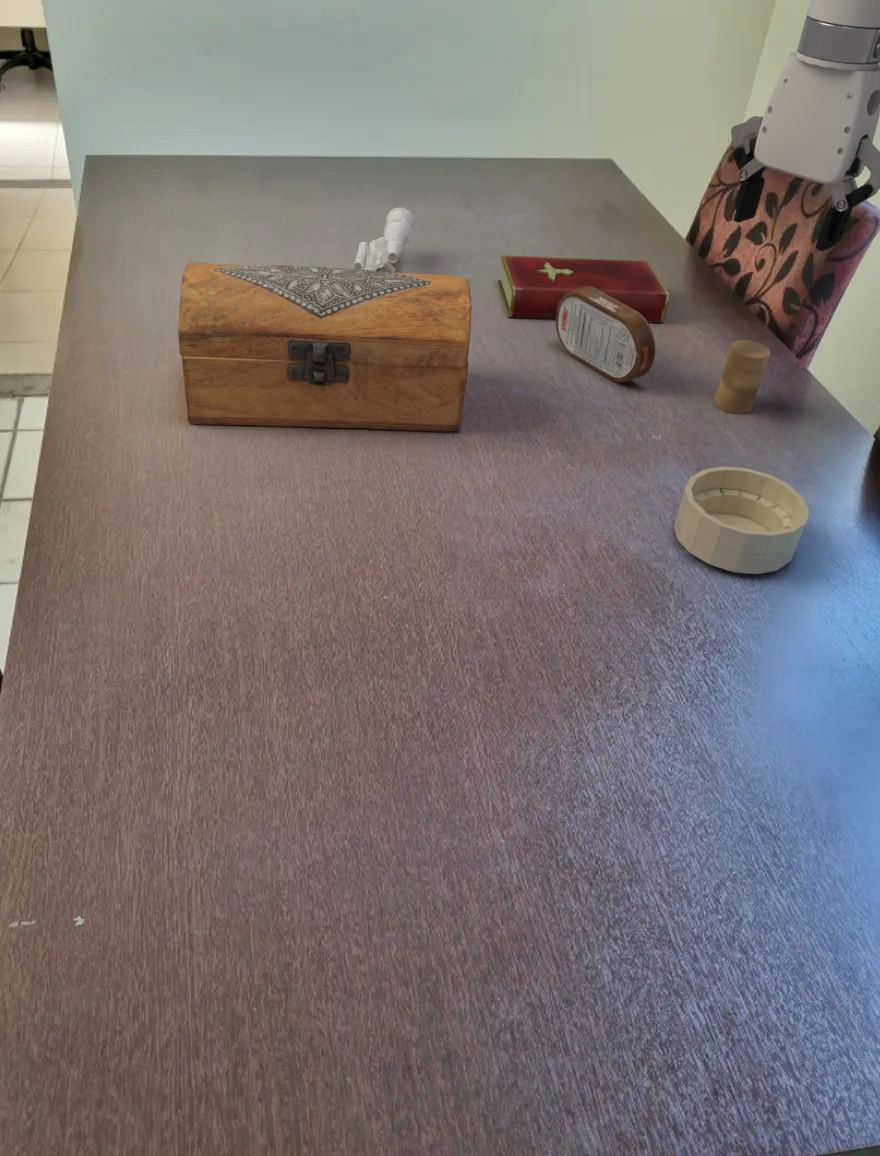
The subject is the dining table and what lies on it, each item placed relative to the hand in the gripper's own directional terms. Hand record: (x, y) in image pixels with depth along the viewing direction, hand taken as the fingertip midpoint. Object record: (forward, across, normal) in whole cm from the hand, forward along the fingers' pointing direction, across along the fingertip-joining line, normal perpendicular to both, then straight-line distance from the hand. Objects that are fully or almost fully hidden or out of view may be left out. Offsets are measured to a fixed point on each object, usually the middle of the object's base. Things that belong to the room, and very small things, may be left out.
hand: (783, 233), depth 101 cm
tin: (+20, +16, +5) cm, 26 cm away
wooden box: (+20, +29, +37) cm, 51 cm away
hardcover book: (+20, +30, -8) cm, 37 cm away
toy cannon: (+20, +54, +7) cm, 58 cm away
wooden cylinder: (+20, 0, -1) cm, 20 cm away
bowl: (+20, -16, +24) cm, 35 cm away
